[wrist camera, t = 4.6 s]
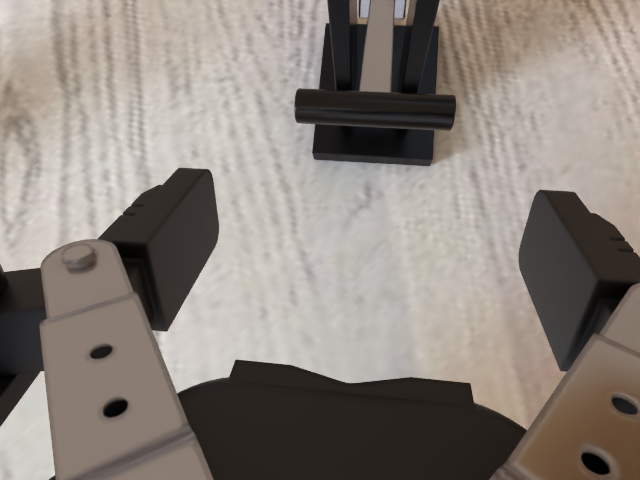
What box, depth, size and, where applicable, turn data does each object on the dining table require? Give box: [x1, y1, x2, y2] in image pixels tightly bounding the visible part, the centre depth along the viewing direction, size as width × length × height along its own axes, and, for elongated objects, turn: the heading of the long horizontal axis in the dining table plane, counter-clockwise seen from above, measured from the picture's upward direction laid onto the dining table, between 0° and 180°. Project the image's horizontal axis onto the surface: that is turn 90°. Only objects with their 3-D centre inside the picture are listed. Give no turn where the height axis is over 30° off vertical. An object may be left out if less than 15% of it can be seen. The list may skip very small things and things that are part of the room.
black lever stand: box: [312, 0, 440, 166], centre depth 27 cm, size 10×8×13 cm
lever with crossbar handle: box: [295, 0, 456, 131], centre depth 20 cm, size 12×6×2 cm, turn 174°
